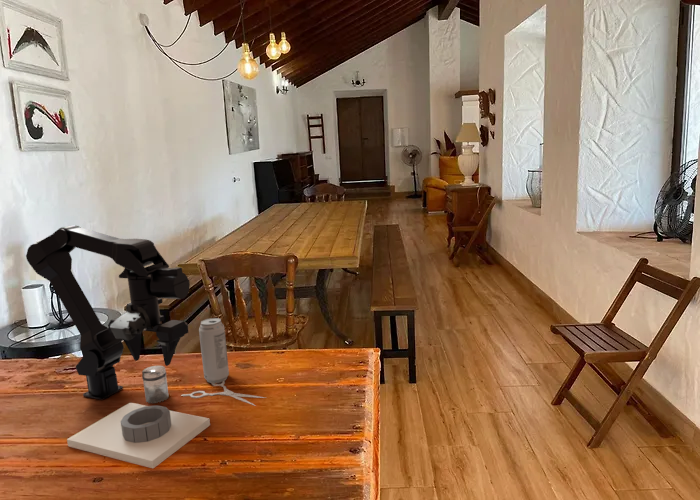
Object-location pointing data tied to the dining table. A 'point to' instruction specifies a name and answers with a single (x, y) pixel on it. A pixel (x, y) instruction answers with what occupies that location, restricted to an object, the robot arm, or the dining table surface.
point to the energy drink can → (213, 350)
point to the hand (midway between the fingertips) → (152, 362)
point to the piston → (155, 384)
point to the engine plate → (137, 451)
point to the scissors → (226, 392)
